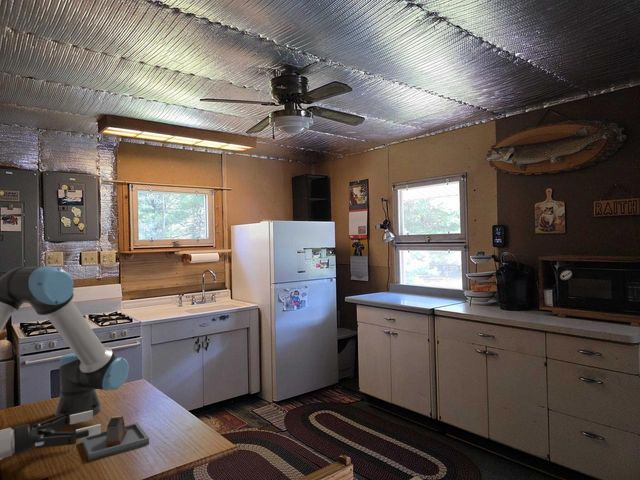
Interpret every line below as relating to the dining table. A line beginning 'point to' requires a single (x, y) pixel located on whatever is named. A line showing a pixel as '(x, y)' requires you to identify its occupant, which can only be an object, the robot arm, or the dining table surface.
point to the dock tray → (98, 449)
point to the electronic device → (115, 431)
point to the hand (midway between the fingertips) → (96, 421)
